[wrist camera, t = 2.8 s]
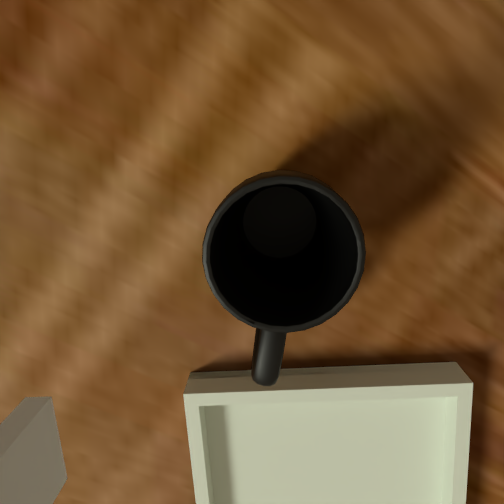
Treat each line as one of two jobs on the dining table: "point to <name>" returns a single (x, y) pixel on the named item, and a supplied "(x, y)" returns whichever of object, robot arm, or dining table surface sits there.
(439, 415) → the tray
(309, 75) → the dining table surface
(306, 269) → the mug
